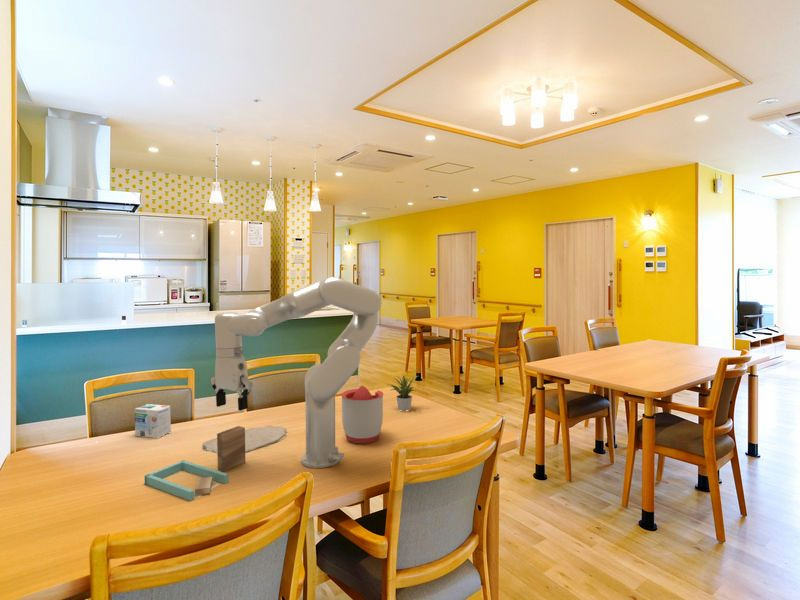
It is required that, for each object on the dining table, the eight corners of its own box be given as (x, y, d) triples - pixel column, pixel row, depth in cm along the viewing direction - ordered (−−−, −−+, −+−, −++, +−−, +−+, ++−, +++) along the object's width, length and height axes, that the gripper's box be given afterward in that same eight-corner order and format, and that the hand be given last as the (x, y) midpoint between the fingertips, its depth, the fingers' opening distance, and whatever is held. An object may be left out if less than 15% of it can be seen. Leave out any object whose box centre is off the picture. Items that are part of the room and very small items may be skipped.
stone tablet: (198, 448, 156) (198, 441, 156) (274, 427, 178) (274, 421, 178) (219, 462, 145) (219, 455, 145) (297, 438, 166) (297, 432, 166)
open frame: (228, 486, 127) (228, 474, 127) (190, 505, 117) (190, 492, 116) (183, 471, 137) (183, 460, 137) (144, 487, 126) (144, 475, 126)
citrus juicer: (392, 433, 170) (392, 382, 169) (370, 449, 155) (370, 392, 154) (357, 427, 177) (357, 378, 176) (333, 442, 161) (332, 388, 160)
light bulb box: (134, 436, 167) (133, 408, 166) (148, 430, 173) (147, 403, 173) (158, 439, 164) (157, 410, 164) (171, 432, 171) (171, 405, 170)
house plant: (407, 403, 211) (407, 369, 210) (427, 409, 201) (427, 374, 200) (383, 408, 202) (383, 373, 201) (403, 416, 191) (403, 378, 191)
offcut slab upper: (212, 482, 127) (212, 476, 127) (209, 494, 120) (209, 487, 120) (198, 484, 126) (198, 478, 126) (195, 495, 119) (195, 489, 119)
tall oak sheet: (245, 464, 141) (244, 427, 140) (224, 474, 134) (223, 435, 133) (239, 462, 142) (238, 426, 142) (217, 472, 135) (217, 433, 135)
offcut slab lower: (220, 489, 126) (219, 483, 126) (199, 503, 119) (199, 497, 119) (208, 487, 128) (208, 481, 127) (187, 501, 120) (187, 494, 120)
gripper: (259, 352, 135) (261, 407, 136) (220, 349, 144) (223, 401, 145) (239, 356, 129) (242, 414, 130) (200, 353, 137) (203, 407, 138)
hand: (232, 407), depth 137 cm, fingers open, 9 cm apart
